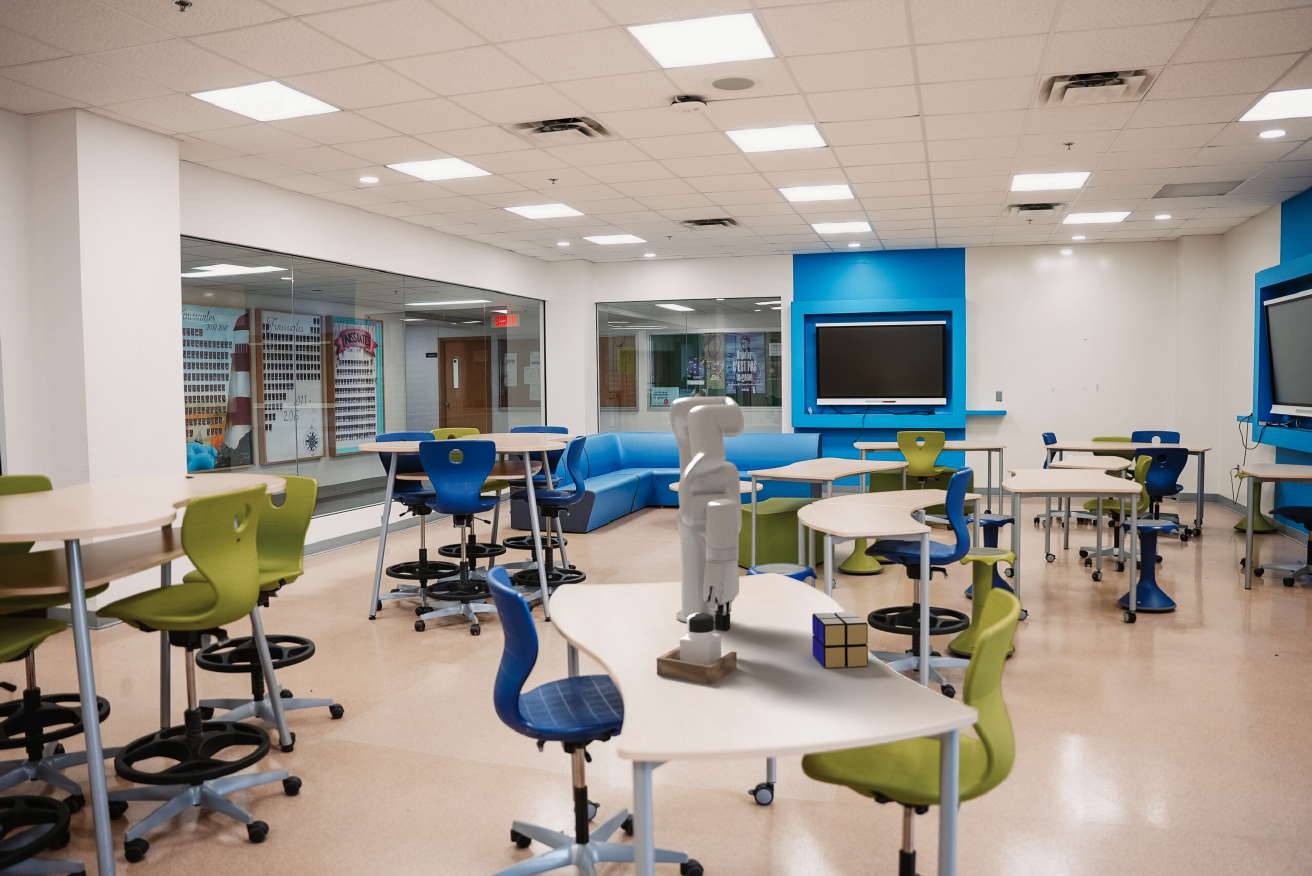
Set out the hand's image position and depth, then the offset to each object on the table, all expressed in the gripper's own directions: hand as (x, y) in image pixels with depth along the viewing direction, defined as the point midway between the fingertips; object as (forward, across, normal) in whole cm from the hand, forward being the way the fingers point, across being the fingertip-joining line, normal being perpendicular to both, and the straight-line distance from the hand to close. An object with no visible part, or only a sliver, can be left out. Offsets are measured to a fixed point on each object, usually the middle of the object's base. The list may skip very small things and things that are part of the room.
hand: (722, 629), depth 204 cm
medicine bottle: (+5, +12, +1) cm, 13 cm away
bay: (+5, +14, +1) cm, 15 cm away
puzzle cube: (+5, -7, +26) cm, 28 cm away
